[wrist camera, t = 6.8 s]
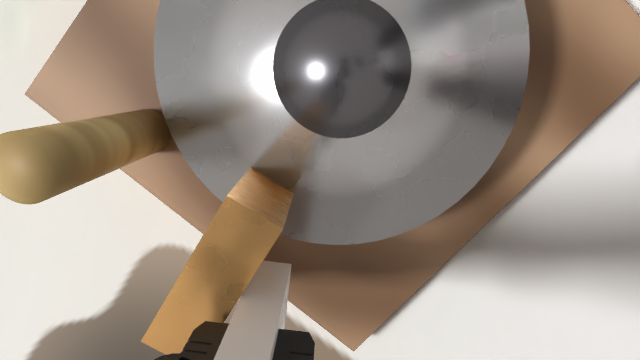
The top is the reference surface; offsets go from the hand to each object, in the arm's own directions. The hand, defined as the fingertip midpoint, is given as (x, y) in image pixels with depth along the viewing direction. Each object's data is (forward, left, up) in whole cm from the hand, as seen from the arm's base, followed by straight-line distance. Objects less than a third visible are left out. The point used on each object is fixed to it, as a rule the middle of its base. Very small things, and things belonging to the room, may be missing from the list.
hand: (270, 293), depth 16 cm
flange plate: (-6, -3, -3) cm, 8 cm away
